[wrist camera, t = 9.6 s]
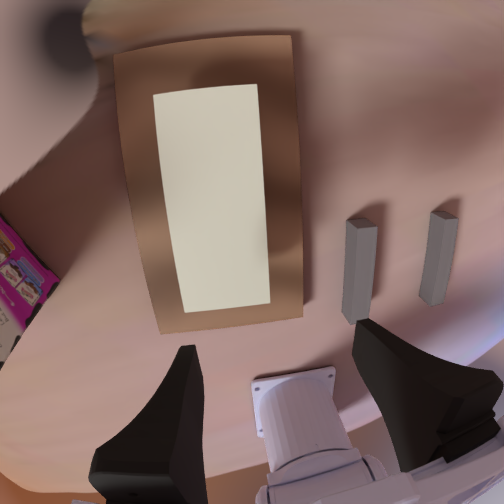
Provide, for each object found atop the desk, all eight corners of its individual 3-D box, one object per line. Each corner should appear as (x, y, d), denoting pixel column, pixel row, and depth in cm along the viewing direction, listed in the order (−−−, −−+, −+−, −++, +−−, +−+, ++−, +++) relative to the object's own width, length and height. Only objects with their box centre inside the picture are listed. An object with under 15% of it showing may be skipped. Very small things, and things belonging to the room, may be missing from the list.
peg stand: (299, 308, 25) (310, 332, 22) (162, 325, 24) (157, 350, 21) (286, 39, 17) (299, 26, 14) (118, 58, 17) (103, 48, 14)
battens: (431, 292, 27) (443, 303, 25) (341, 311, 26) (350, 325, 24) (444, 211, 24) (458, 218, 22) (346, 219, 23) (357, 228, 21)
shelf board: (159, 98, 15) (153, 95, 13) (252, 88, 16) (257, 84, 14) (186, 295, 20) (184, 312, 18) (264, 286, 20) (270, 303, 19)
